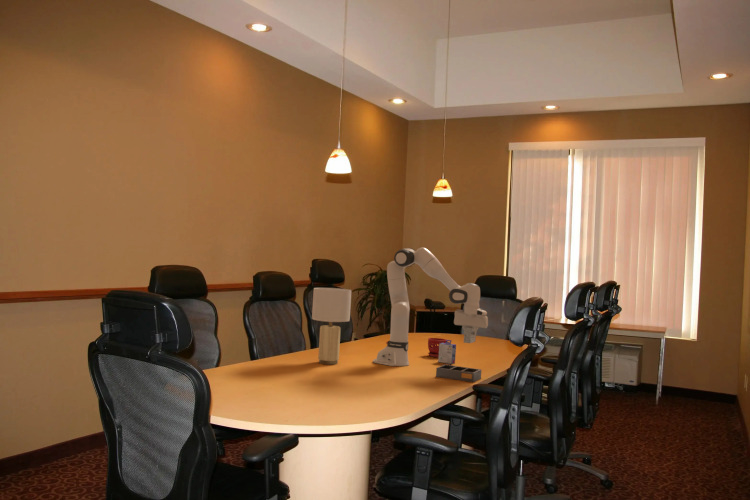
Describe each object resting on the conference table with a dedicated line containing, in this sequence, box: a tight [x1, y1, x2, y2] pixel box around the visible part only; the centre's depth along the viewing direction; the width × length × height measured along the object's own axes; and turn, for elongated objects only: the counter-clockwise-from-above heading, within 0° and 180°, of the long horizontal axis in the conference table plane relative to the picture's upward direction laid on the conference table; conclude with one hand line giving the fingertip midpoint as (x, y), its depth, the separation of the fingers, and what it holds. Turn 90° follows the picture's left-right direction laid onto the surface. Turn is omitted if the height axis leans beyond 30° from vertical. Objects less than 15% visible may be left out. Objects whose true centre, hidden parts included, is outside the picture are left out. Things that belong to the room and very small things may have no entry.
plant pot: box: [427, 337, 449, 358], centre depth 424 cm, size 13×13×12 cm
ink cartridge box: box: [437, 339, 457, 365], centre depth 401 cm, size 10×6×14 cm, turn 56°
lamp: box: [311, 287, 352, 366], centre depth 375 cm, size 23×23×44 cm
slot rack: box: [435, 363, 482, 383], centre depth 354 cm, size 22×14×5 cm, turn 63°
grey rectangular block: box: [463, 326, 477, 344], centre depth 370 cm, size 4×10×9 cm, turn 153°
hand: (470, 334), depth 370 cm, fingers closed on grey rectangular block, 4 cm apart
